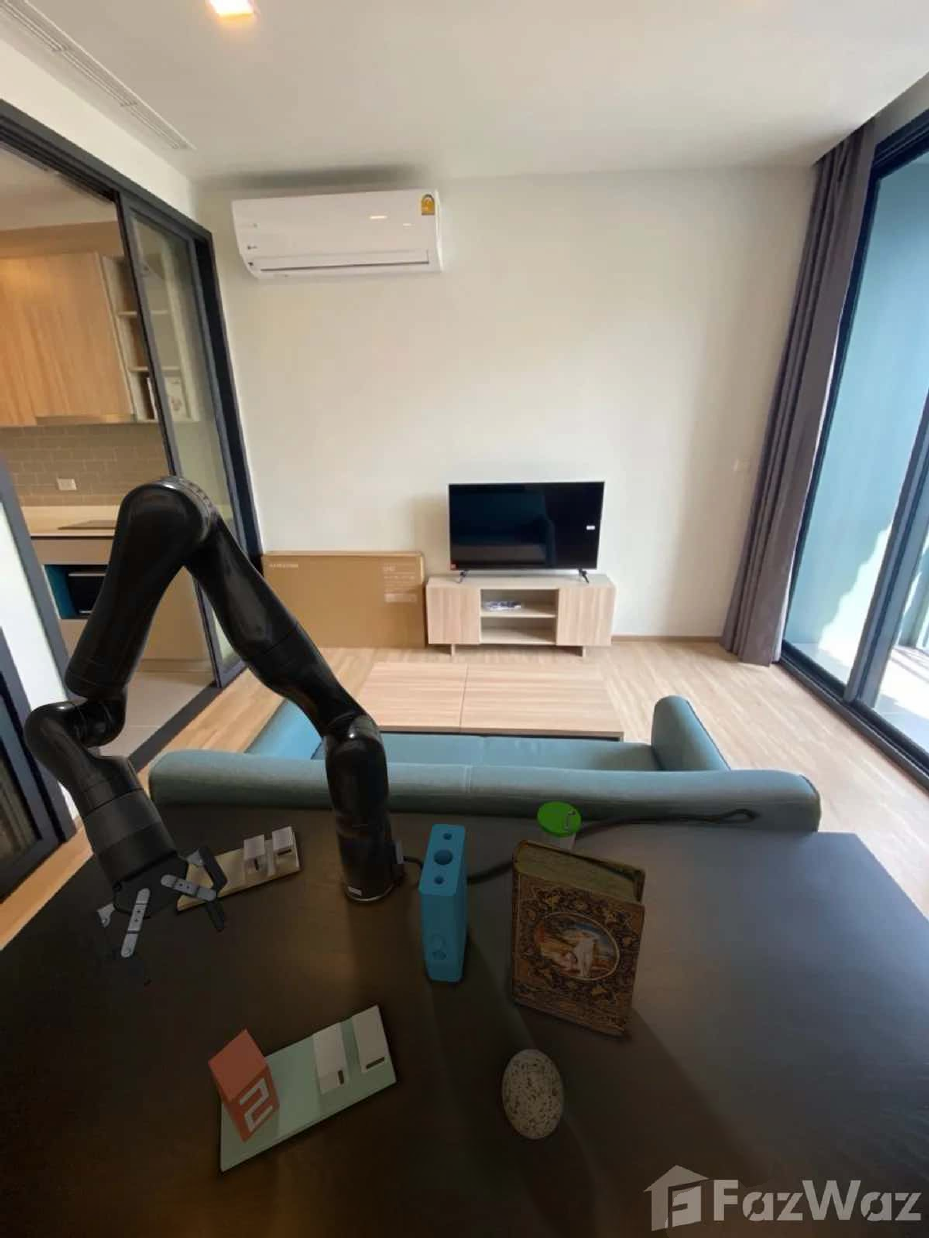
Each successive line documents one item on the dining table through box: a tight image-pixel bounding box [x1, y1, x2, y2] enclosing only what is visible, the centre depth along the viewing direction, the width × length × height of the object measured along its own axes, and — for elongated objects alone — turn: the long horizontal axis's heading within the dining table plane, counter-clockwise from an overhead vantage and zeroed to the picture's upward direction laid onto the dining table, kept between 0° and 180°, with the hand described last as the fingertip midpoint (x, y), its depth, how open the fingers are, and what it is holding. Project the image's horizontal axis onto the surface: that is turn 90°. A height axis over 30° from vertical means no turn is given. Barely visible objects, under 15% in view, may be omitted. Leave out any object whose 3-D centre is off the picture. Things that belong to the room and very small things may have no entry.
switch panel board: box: [220, 1004, 397, 1172], centre depth 62 cm, size 20×9×4 cm, turn 113°
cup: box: [536, 800, 582, 850], centre depth 91 cm, size 8×8×15 cm
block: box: [418, 823, 468, 983], centre depth 74 cm, size 12×5×20 cm, turn 173°
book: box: [508, 839, 646, 1038], centre depth 66 cm, size 16×6×25 cm, turn 71°
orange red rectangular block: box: [207, 1028, 280, 1143], centre depth 58 cm, size 4×6×8 cm
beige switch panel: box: [176, 825, 301, 912], centre depth 92 cm, size 20×9×4 cm, turn 113°
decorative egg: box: [501, 1048, 565, 1140], centre depth 58 cm, size 7×7×10 cm
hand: (186, 955), depth 60 cm, fingers open, 8 cm apart
